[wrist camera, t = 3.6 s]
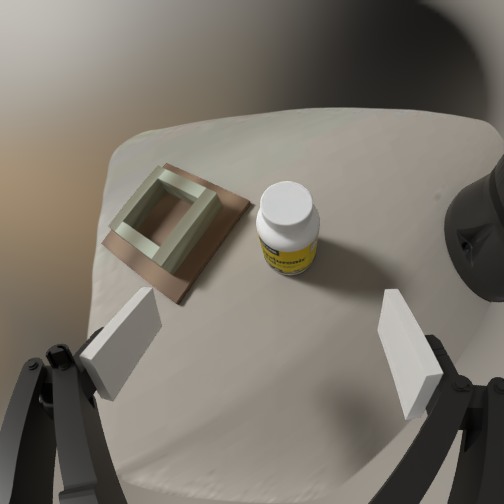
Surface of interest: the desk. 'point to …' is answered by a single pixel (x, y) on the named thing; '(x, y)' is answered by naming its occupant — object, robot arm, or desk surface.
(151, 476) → the desk surface
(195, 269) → the socket board
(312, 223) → the supplement bottle
